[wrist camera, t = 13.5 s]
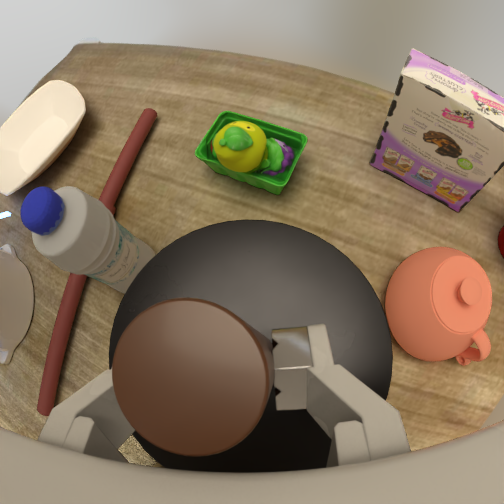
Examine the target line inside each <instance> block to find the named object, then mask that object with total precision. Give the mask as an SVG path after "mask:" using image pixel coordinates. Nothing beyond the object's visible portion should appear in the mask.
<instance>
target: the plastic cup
mask: <svg viewBox="0 0 504 504" xmlns="http://www.w3.org/2000/svg"><path fill="white" fill-rule="evenodd" d="M498 246H499V249H500V252H501V254H502V256H503V257H504V226H503V228H502V229H501V231H500V232H499V236H498Z"/></svg>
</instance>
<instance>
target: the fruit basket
mask: <svg viewBox="0 0 504 504" xmlns="http://www.w3.org/2000/svg"><path fill="white" fill-rule="evenodd" d="M306 143H307V137H306V136H305V135H304V134H302V133H299V132H296V131H293V130H290V129H287V128H284V127H281V126H278V125H274V124H271V123H268V122H265V121H262V120H259V119H255V118H252V117H248V116H245V115H241V114H238V113H235V112H231V111H224V112H222V113H220V114H219V116H218V117H217V119H216V120H215V122H214V123H213V125H212V126H211V128H210V129H209V131H208V132H207V134H206V135H205V137H204V138H203V139H202V141H201V142H200V144H199V145H198V147H197V148H196V150H195V155H196V157H198V158H199V159H200V160H202V161H204V162H205V163H206V164H207V165H208V166H209V167H210V168H211V169H213V170H214V171H215V172H216V173H219V174H222V175H229V176H230V177H231V178H233V179H236V180H239V181H241V182H247V183H248V184H249V185H252V186H255V187H257V188H262V189H265V190H267V191H268V192H270V193H273V194H276V195H279V194H280V193H281V191H282V189H283V187H284V186H285V185H286V184H287V182H288V180H289V178H290V176H291V174H292V172H293V170H294V168H295V165H296V163H297V161H298V159H299V157H300V155H301V153H302V151H303V149H304V147H305V145H306Z"/></svg>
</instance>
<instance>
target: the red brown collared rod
mask: <svg viewBox="0 0 504 504" xmlns="http://www.w3.org/2000/svg"><path fill="white" fill-rule="evenodd" d="M156 117H157V113H156V111H155V110H153V109H151V108H147V109H145V110H144V111H143V113H142V115H141V116H140V118H139V120H138V122H137V124H136V125H135V127H134V129H133V131H132V133H131V135H130V136H129V138H128V140H127V142H126V144H125V146H124V148H123V150H122V152H121V154H120V156H119V158H118V160H117V162H116V164H115V166H114V168H113V170H112V172H111V174H110V176H109V178H108V180H107V183H106V185H105V187H104V189H103V191H102V194H101V196H100V198H99V201H101V202H102V203H103V204H104V205H105V207H106V208H107V209H109V210H110V212H111V213H112V215H114V213H115V210H116V208H115V207H114V204H115V202H116V200H117V197H118V195H119V193H120V190H121V188H122V186H123V184H124V181H125V179H126V177H127V175H128V173H129V171H130V169H131V166H132V164H133V162H134V160H135V158H136V156H137V154H138V152H139V150H140V148H141V146H142V144H143V142H144V140H145V138H146V136H147V134H148V132H149V130H150V129H151V127H152V125H153V123H154V121H155V119H156ZM86 278H87V275H84V274H82V275H79V274H73V273H70V276H69V279H68V282H67V285H66V288H65V291H64V294H63V298H62V301H61V304H60V308H59V311H58V315H57V318H56V322H55V325H54V329H53V333H52V337H51V341H50V345H49V349H48V354H47V358H46V363H45V367H44V372H43V377H42V382H41V388H40V393H39V399H38V405H37V410H38V412H39V413H40V414H42V415H44V416H49V415H50V413H51V411H52V409H53V407H54V402H55V396H56V391H57V386H58V381H59V376H60V372H61V367H62V363H63V359H64V354H65V350H66V346H67V342H68V338H69V335H70V331H71V327H72V324H73V320H74V317H75V313H76V310H77V306H78V303H79V300H80V297H81V293H82V290H83V287H84V284H85V281H86Z"/></svg>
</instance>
